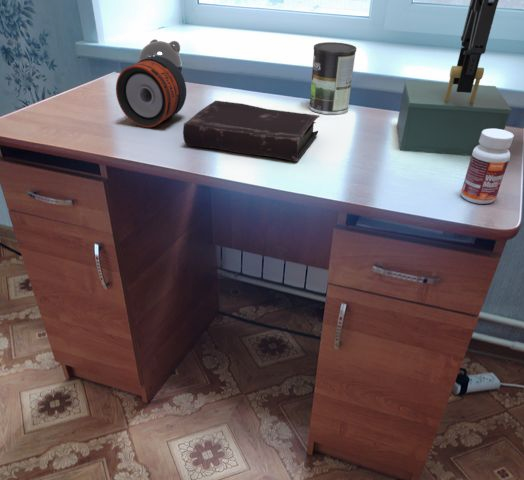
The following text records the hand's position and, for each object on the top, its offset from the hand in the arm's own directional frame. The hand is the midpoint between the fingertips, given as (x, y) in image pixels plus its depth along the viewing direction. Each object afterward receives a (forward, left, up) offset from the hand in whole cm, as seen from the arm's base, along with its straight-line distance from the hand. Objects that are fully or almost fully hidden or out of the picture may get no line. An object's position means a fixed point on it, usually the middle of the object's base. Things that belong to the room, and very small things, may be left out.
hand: (461, 87), depth 102 cm
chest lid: (0, -5, -3) cm, 6 cm away
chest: (0, -5, -12) cm, 13 cm away
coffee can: (+27, -23, -13) cm, 38 cm away
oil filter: (+67, -4, -13) cm, 68 cm away
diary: (+42, +5, -13) cm, 44 cm away
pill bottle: (-3, +25, -13) cm, 28 cm away
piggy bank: (+74, -31, -13) cm, 81 cm away
